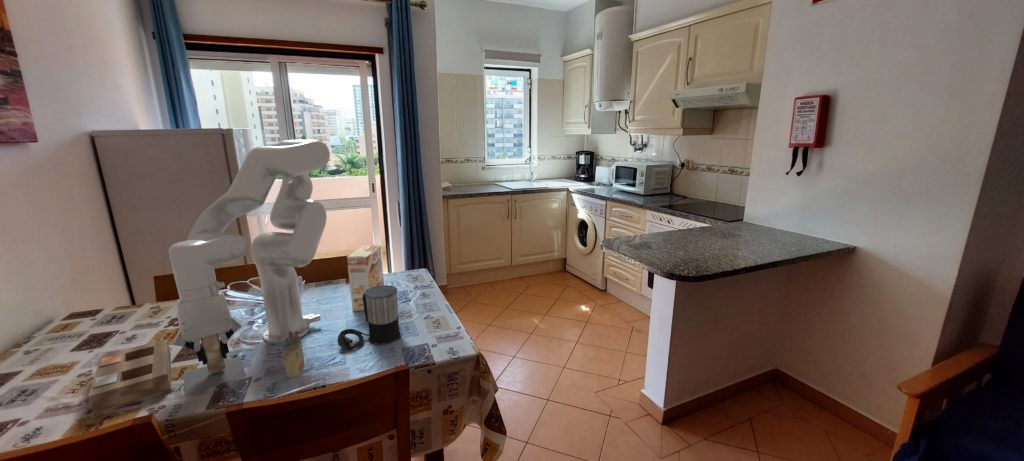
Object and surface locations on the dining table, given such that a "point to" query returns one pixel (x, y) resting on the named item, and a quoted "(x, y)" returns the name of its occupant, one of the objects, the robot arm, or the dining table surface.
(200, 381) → the mat
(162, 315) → the dining table surface
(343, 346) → the milk frother
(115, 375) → the socket block
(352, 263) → the coffeecake box
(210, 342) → the peg
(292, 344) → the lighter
